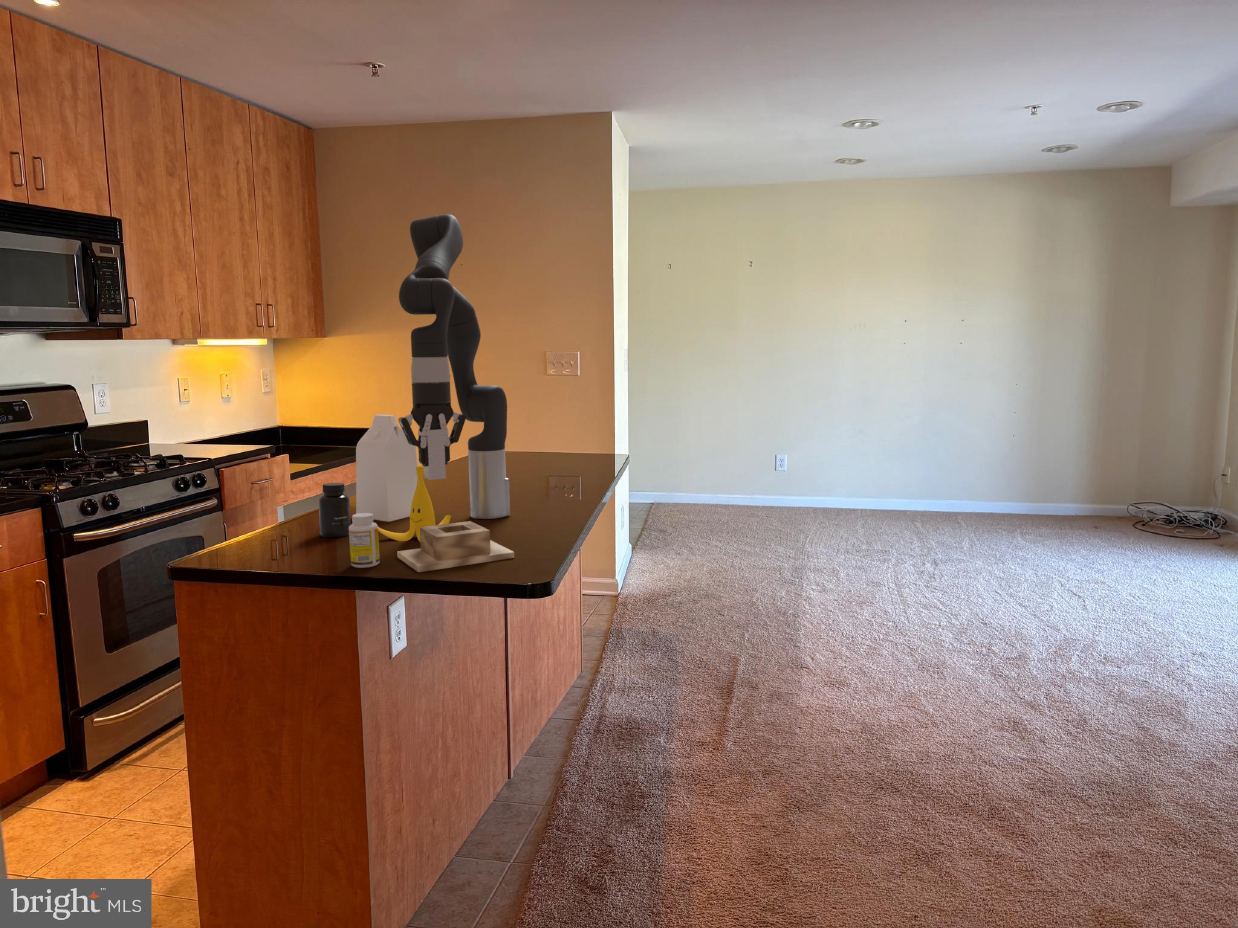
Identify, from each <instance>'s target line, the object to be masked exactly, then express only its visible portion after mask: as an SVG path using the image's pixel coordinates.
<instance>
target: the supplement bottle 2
mask: <svg viewBox="0 0 1238 928" xmlns="http://www.w3.org/2000/svg"><path fill="white" fill-rule="evenodd" d="M351 521H352V523H351V525H350V526H349V535H348V537H349V539H348V540H349V553H350V554H349V555H350V565H351V566H352V567H354V568H357V569H365V568H372V567H376V566H378V564H380V562H381V561H380V560H381V558H380V557H381V554H380V543H379V541H380V539H379V531H378V527H379V525H378V524H377V523H376V522H374V519H373V514H371V513H359V514H356V513H355V514H353V515H352V516H351Z"/></svg>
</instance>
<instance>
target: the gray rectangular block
mask: <svg viewBox="0 0 1238 928" xmlns="http://www.w3.org/2000/svg"><path fill="white" fill-rule="evenodd" d="M426 448H427V455H428V466H426V467H424V479H427V480H429V481H430V480H432V481H433V480H443V479H447V473H446V472H447V469H446V468H447V467H446V465H445V445H444V429H435V430H428V435H427V445H426Z"/></svg>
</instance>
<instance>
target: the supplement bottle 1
mask: <svg viewBox="0 0 1238 928" xmlns="http://www.w3.org/2000/svg"><path fill="white" fill-rule="evenodd" d="M345 491H346V489H345V483H343V482H328V483H322V490H321V492H322V493H323V495H321V496H320V497H319V499H318V518H319V520H318V521H319V534H320V536H321V537H323V538H331V539H332V538H342V537H346V536H349V526H350V525H352V523H351V503H350V501H351V500H350V497H349V496H348V495H347V494H345Z"/></svg>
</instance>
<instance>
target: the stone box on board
mask: <svg viewBox="0 0 1238 928" xmlns="http://www.w3.org/2000/svg"><path fill="white" fill-rule="evenodd" d="M419 543H420V548H413V549H406V550H399V551H398V550H397V552H396V553H397V554H396V555H397V558H398V559H399V560H401V561H402V562H404V563H405V564H406V565H408V566H409V567H410V568H412V569H413V570H415V571H416V572H417V573H423V572H428V571H435V570H437V571H438V570H442V569H449V568H454V567H455V568H456V567H461V566H467V565H475V564H476V565H477V564H482V563H487V562H488V563H489V562H496V561H503V560H508V559H514V558H515V551H513V550H511V549H509V548H507V547H505V546H503V545H501V544H499V543H497V542H495V541H493V540H492V539H491V530H490V529H487V527H484V526H482V525H479V524H477V523H475V522H473V521H471V520H468V521H460V522H459V521H458V522H453V523H449V524H443V525H438V524H435V525H434V526H426V527H420V542H419Z"/></svg>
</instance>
